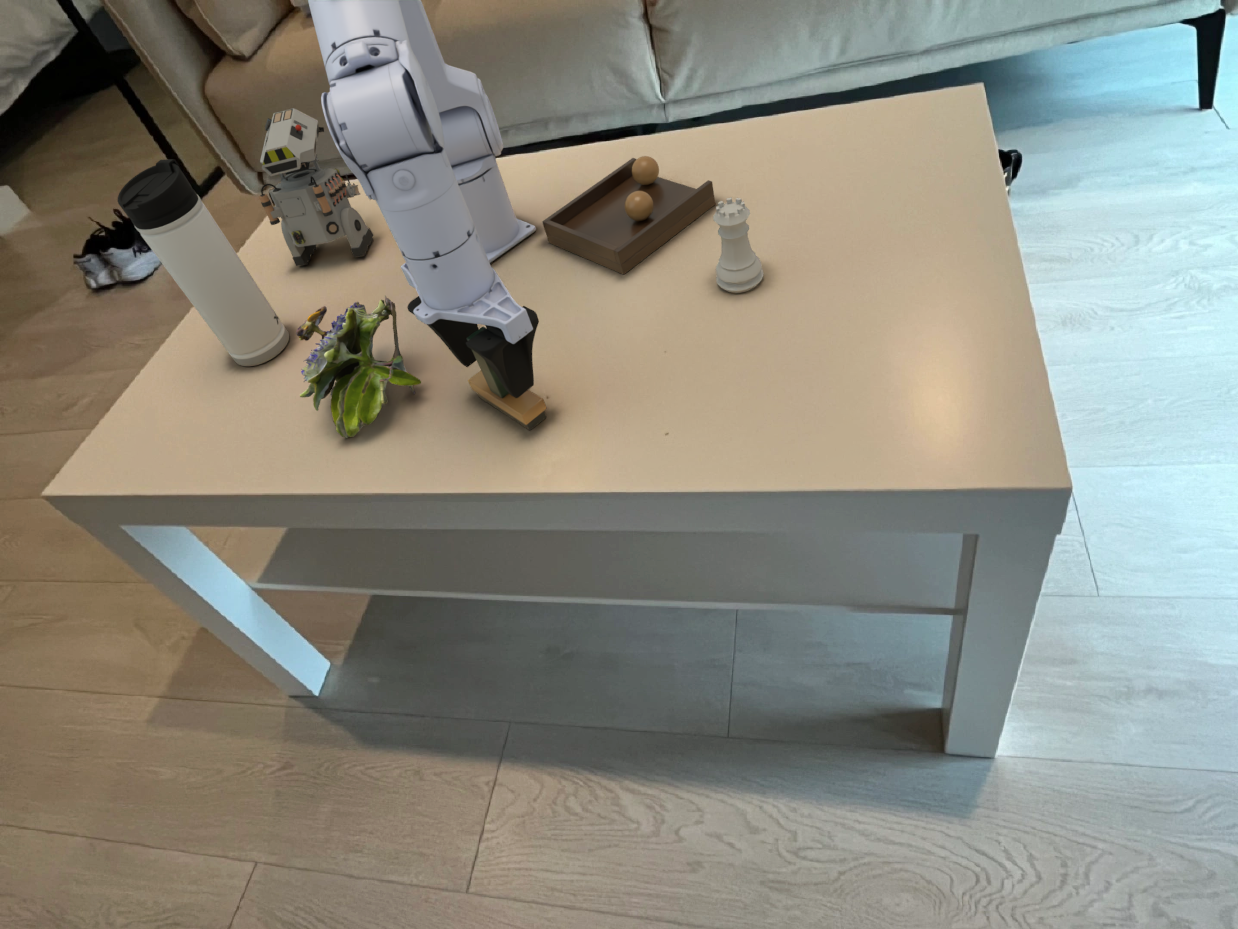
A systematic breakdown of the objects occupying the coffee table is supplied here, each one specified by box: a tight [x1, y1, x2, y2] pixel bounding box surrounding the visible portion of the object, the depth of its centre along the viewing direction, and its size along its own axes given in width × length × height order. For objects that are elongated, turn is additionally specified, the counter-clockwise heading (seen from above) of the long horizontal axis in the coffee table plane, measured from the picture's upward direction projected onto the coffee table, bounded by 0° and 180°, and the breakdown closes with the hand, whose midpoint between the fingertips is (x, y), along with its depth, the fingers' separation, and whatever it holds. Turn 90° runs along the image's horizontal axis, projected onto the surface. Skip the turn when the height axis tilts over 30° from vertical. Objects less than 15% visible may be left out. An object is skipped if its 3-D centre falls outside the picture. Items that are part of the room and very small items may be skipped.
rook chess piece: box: [712, 196, 764, 294], centre depth 74 cm, size 4×4×8 cm
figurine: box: [258, 107, 374, 267], centre depth 94 cm, size 9×12×15 cm
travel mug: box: [117, 158, 290, 367], centre depth 80 cm, size 6×7×20 cm
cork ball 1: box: [632, 155, 660, 185], centre depth 89 cm, size 3×3×3 cm
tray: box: [541, 157, 716, 275], centre depth 87 cm, size 12×14×3 cm
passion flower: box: [295, 295, 422, 439], centre depth 75 cm, size 11×11×12 cm
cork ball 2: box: [625, 191, 654, 221], centre depth 85 cm, size 3×3×3 cm
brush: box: [467, 326, 548, 431], centre depth 69 cm, size 8×2×8 cm, turn 44°
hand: (497, 374), depth 69 cm, fingers open, 6 cm apart
